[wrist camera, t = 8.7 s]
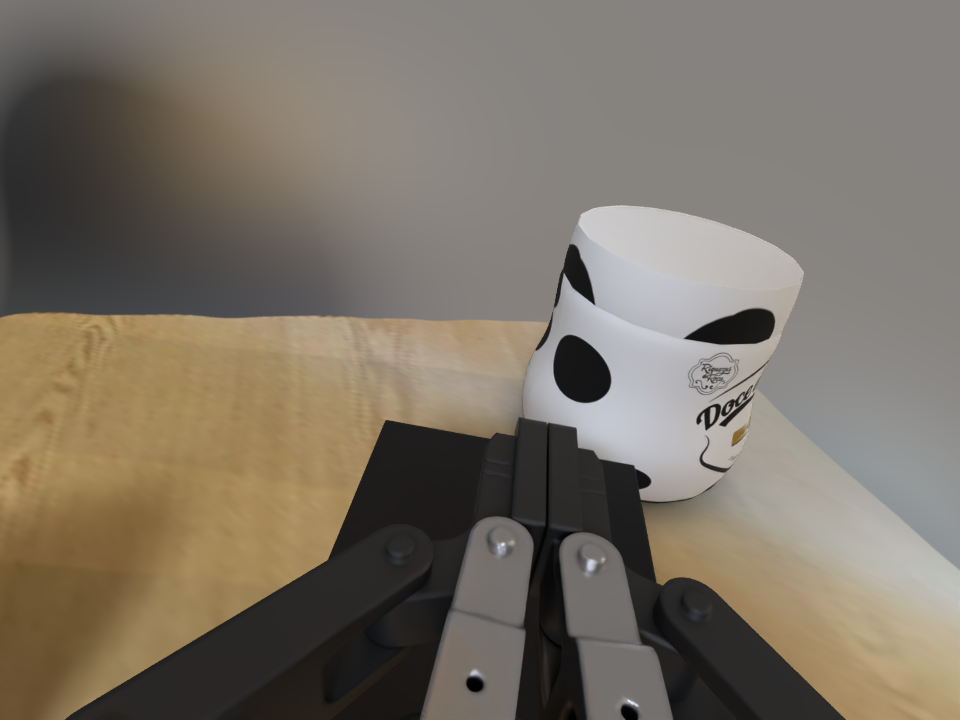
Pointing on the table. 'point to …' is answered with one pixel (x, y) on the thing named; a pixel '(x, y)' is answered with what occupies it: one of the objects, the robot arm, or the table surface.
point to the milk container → (661, 343)
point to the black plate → (447, 514)
